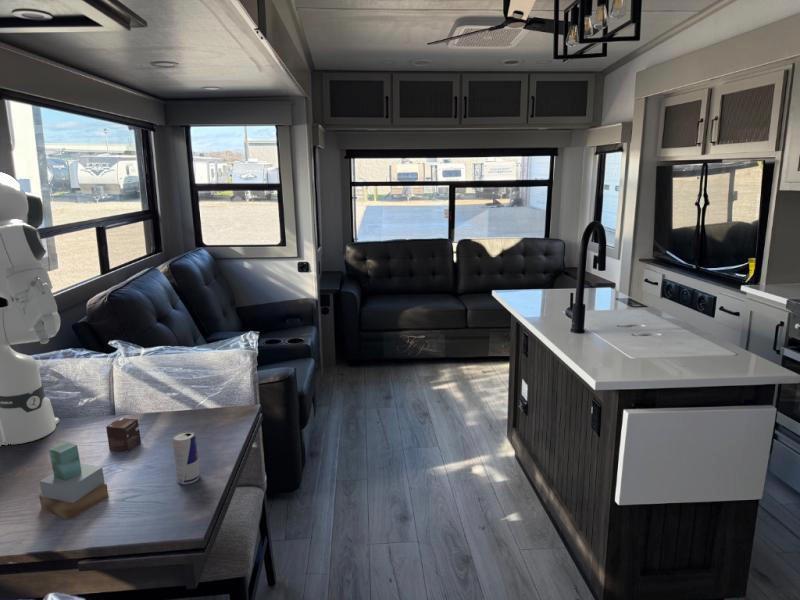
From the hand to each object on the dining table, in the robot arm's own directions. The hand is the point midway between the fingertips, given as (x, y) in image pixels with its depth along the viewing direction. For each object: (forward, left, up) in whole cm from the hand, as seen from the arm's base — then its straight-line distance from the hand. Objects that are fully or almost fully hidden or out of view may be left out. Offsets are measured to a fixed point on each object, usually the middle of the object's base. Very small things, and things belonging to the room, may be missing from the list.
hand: (49, 339), depth 138 cm
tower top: (+13, -8, -33) cm, 36 cm away
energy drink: (+30, +11, -37) cm, 48 cm away
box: (0, +16, -37) cm, 40 cm away
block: (+13, -8, -29) cm, 33 cm away
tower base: (+13, -8, -37) cm, 40 cm away
